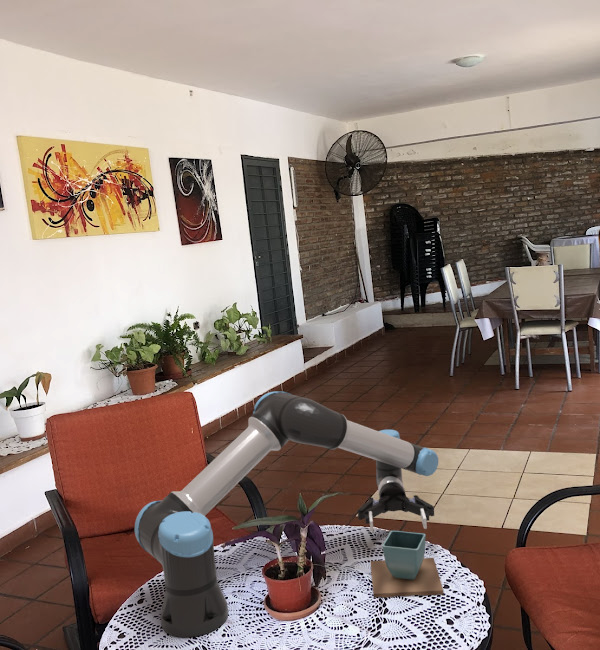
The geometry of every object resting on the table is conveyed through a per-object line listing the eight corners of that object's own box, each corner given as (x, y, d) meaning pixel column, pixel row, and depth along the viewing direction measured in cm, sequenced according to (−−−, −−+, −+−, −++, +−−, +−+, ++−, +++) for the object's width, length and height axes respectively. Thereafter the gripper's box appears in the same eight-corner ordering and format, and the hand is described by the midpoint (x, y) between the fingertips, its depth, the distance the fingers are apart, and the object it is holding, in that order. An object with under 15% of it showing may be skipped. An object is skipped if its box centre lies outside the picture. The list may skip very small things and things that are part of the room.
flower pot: (420, 585, 158) (418, 549, 157) (384, 581, 161) (381, 545, 160) (428, 568, 166) (426, 533, 165) (393, 564, 169) (391, 530, 168)
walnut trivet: (373, 597, 156) (373, 593, 156) (370, 564, 172) (370, 561, 172) (443, 594, 155) (443, 590, 155) (433, 561, 171) (433, 557, 171)
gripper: (436, 504, 193) (448, 536, 172) (349, 509, 194) (350, 541, 173) (435, 479, 192) (446, 508, 171) (347, 484, 194) (348, 513, 173)
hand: (398, 525), depth 172 cm, fingers open, 13 cm apart
